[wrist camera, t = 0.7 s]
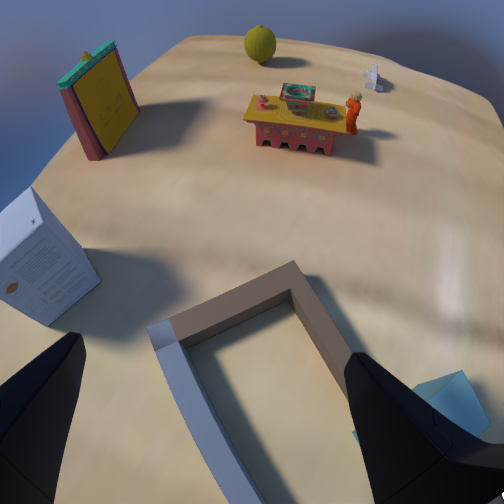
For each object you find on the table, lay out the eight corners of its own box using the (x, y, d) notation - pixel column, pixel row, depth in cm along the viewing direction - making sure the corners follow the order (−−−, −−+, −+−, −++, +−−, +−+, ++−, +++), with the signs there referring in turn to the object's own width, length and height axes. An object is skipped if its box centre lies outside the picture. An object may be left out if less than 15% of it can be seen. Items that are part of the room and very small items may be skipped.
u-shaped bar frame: (410, 472, 18) (423, 475, 16) (268, 550, 15) (269, 562, 13) (291, 273, 27) (293, 260, 25) (156, 336, 25) (146, 328, 23)
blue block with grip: (446, 423, 19) (495, 418, 13) (378, 477, 18) (415, 493, 12) (422, 380, 22) (467, 364, 16) (351, 432, 20) (382, 435, 14)
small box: (82, 246, 30) (32, 182, 21) (103, 283, 28) (45, 220, 18) (31, 289, 27) (-30, 239, 18) (46, 329, 25) (-24, 284, 16)
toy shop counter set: (128, 108, 43) (105, 34, 31) (356, 125, 38) (375, 34, 26) (89, 161, 37) (48, 78, 25) (359, 190, 32) (392, 79, 20)
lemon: (272, 56, 50) (271, 20, 43) (279, 67, 47) (279, 28, 40) (243, 59, 50) (240, 22, 43) (248, 70, 47) (246, 30, 40)
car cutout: (393, 99, 43) (399, 78, 39) (355, 91, 44) (359, 68, 40) (382, 65, 50) (386, 47, 46) (351, 58, 51) (354, 39, 47)
